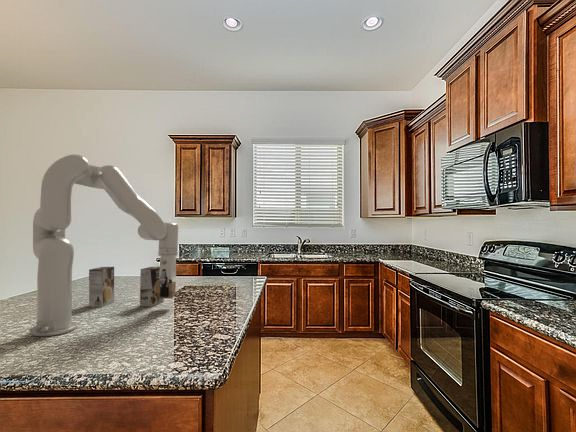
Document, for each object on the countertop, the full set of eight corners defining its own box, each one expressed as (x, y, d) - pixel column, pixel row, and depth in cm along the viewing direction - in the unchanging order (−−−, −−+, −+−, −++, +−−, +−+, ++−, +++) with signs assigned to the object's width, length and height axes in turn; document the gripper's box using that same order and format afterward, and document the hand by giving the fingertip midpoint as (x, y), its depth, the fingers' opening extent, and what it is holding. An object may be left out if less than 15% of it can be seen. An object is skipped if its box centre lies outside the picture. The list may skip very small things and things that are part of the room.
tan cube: (172, 298, 137) (172, 283, 137) (156, 298, 136) (157, 283, 136) (175, 295, 143) (175, 281, 143) (160, 295, 142) (161, 281, 142)
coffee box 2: (153, 306, 143) (153, 269, 143) (139, 306, 144) (139, 268, 144) (164, 301, 152) (164, 266, 152) (151, 301, 153) (151, 266, 153)
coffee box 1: (100, 301, 152) (101, 266, 152) (114, 301, 152) (114, 266, 152) (88, 306, 143) (88, 269, 143) (103, 306, 143) (103, 269, 143)
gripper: (172, 253, 132) (170, 299, 131) (181, 250, 149) (179, 291, 148) (152, 253, 131) (151, 299, 131) (164, 250, 148) (162, 291, 148)
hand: (166, 294), depth 140 cm, fingers closed on tan cube, 5 cm apart
